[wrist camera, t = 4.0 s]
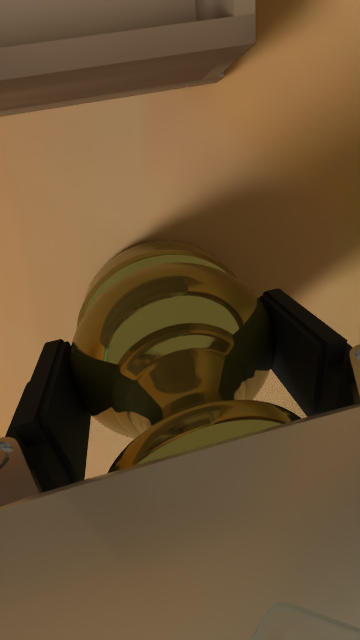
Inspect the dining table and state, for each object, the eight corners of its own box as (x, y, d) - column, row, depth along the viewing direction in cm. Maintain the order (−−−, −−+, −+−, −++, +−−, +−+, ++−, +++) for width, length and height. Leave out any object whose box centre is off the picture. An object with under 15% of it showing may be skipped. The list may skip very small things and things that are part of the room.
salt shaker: (247, 343, 16) (406, 559, 7) (122, 393, 16) (130, 671, 7) (213, 210, 12) (460, 325, 3) (49, 276, 12) (-124, 560, 3)
